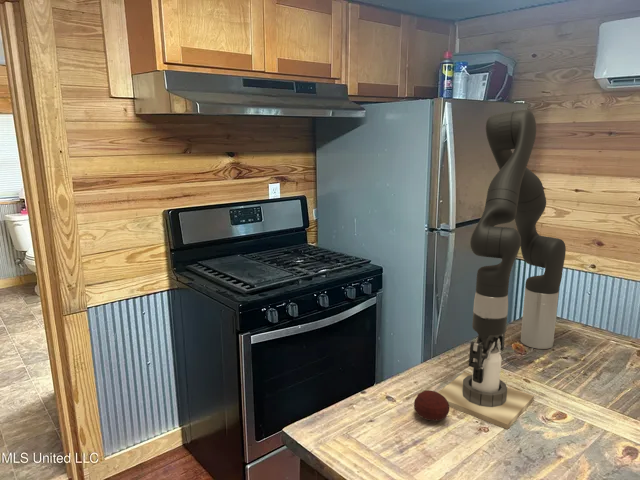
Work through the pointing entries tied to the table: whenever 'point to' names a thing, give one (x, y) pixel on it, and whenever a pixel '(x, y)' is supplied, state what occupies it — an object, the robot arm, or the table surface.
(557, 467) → the table surface
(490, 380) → the beverage can
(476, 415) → the ring board
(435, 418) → the potato
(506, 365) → the table surface
